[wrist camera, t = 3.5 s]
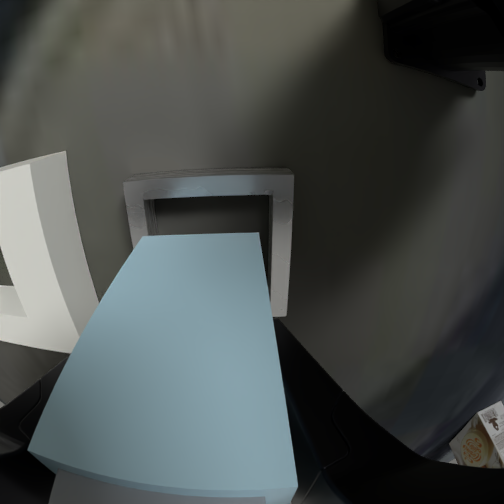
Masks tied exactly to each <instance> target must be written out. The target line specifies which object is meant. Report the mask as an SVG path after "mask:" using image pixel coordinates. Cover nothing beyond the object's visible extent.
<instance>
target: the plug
mask: <svg viewBox="0 0 504 504" xmlns="http://www.w3.org/2000/svg"><path fill="white" fill-rule="evenodd" d="M28 451H29V452H30V453H31V454H32V455H33V456H34V457H36V458H37V459H38V460H39V461H40V462H41V463H43V464H44V465H45V466H46V467H47V468H49V469H50V470H51V471H52V472H54V473H55V474H56V477H55V481H54V484H53V488H52V492H51V495H50V499H49V503H48V504H290V502H291V500H292V498H293V496H294V494H295V492H296V490H297V488H298V482H297V475H296V468H295V461H294V454H293V447H292V441H291V434H290V427H289V420H288V414H287V407H286V401H285V394H284V387H283V381H282V374H281V368H280V362H279V355H278V349H277V342H276V336H275V330H274V323H273V317H272V311H271V305H270V299H269V292H268V286H267V280H266V274H265V268H264V262H263V256H262V250H261V244H260V238H259V233H220V234H188V235H161V236H142V238H141V239H140V241H139V242H138V244H137V245H136V247H135V248H134V250H133V251H132V253H131V254H130V256H129V257H128V259H127V260H126V262H125V263H124V265H123V266H122V268H121V269H120V271H119V272H118V274H117V275H116V277H115V279H114V280H113V282H112V283H111V285H110V287H109V288H108V290H107V291H106V293H105V295H104V296H103V298H102V300H101V301H100V303H99V305H98V306H97V308H96V310H95V311H94V313H93V315H92V316H91V318H90V320H89V322H88V323H87V325H86V327H85V329H84V331H83V332H82V334H81V336H80V338H79V340H78V341H77V343H76V345H75V347H74V349H73V351H72V353H71V354H70V356H69V358H68V360H67V362H66V364H65V366H64V368H63V370H62V372H61V374H60V376H59V378H58V380H57V382H56V384H55V386H54V389H53V391H52V393H51V395H50V397H49V399H48V401H47V404H46V406H45V408H44V410H43V413H42V415H41V417H40V420H39V422H38V424H37V427H36V429H35V432H34V434H33V437H32V439H31V442H30V445H29V447H28Z"/></svg>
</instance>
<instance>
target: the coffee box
mask: <svg viewBox="0 0 504 504" xmlns="http://www.w3.org/2000/svg"><path fill="white" fill-rule="evenodd" d="M449 445H450V447H451V449H452V451H453V454H454V456H455V458H456V460H457V463H458V465H466V466H474V467H483V468H504V406H503V404H502V402H501V401H499V402H497V403H495V404H493V405H491V406H489V407H487V408H485V409H483V410H481V411H479V412H477V413H476V414H475V415H474V416H473V418H472V419H471V420H470V421H469V422H468V423H467V425H466V426H465V427H464V428H463V429H462V430H461V431H460V432H459V433H458V434H457V436H456V437H455V438H454V439H453V440H452V441H451V442H450V443H449Z"/></svg>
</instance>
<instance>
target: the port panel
mask: <svg viewBox="0 0 504 504" xmlns="http://www.w3.org/2000/svg"><path fill="white" fill-rule="evenodd" d="M0 247H1V250H2V253H3V256H4V259H5V262H6V265H7V268H8V271H9V274H10V276H11V279H12V282H13V284H14V286H3V285H0V340H2V341H6V342H10V343H15V344H20V345H25V346H30V347H35V348H40V349H46V350H52V351H58V352H64V353H72V351H73V349H74V347H75V345H76V343H77V341H78V340H79V338H80V336H81V334H82V332H83V331H84V329H85V327H86V325H87V323H88V322H89V320H90V318H91V316H92V315H93V313H94V311H95V310H96V308H97V306H98V305H99V301H98V298H97V295H96V292H95V288H94V285H93V282H92V278H91V275H90V272H89V268H88V264H87V261H86V257H85V253H84V249H83V245H82V241H81V237H80V232H79V228H78V223H77V218H76V213H75V208H74V203H73V197H72V192H71V185H70V179H69V172H68V165H67V156H66V151H63V152H58V153H54V154H49V155H45V156H41V157H37V158H33V159H29V160H25V161H22V162H18V163H14V164H11V165H7V166H4V167H1V168H0Z"/></svg>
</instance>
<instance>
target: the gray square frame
mask: <svg viewBox="0 0 504 504" xmlns="http://www.w3.org/2000/svg"><path fill="white" fill-rule="evenodd" d="M123 186H124V194H125V201H126V208H127V215H128V221H129V227H130V233H131V239H132V244H133V250H134V248H135V247H136V245H137V244H138V242H139V241H140V239H141V238H142V236H159V235H158V228H157V220H156V212H155V204H154V199H162V198H179V197H200V196H228V195H269V249H268V292H269V299H270V305H271V311H272V317H282V316H286V315H287V301H288V287H289V272H290V256H291V238H292V218H293V195H294V174H293V173H292V172H291V171H290V170H289V168H226V169H201V170H183V171H169V172H156V173H144V174H135V175H133V176H132V177H130V178H129V179H127V180H126V181H124V182H123Z"/></svg>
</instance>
